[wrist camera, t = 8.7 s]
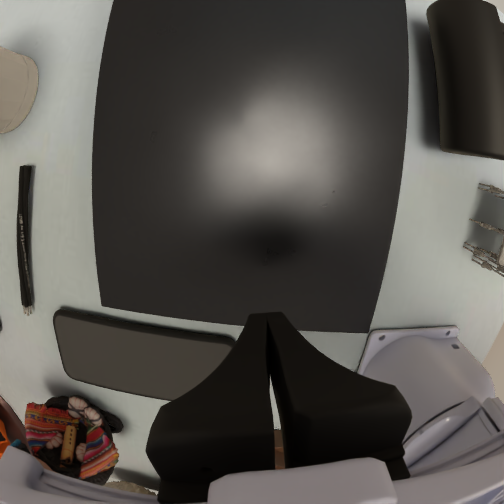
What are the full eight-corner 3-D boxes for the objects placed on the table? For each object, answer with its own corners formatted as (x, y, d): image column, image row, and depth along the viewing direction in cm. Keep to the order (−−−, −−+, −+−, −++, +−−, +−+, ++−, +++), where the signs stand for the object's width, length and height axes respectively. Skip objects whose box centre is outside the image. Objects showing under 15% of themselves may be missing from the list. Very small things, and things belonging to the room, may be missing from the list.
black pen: (35, 312, 21) (29, 317, 20) (26, 308, 21) (20, 314, 20) (34, 166, 17) (26, 167, 16) (25, 164, 17) (17, 166, 16)
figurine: (135, 406, 24) (92, 544, 10) (125, 441, 26) (92, 554, 12) (44, 362, 23) (-31, 474, 8) (46, 403, 25) (-8, 501, 10)
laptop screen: (398, -11, 11) (403, -16, 10) (364, 326, 18) (368, 333, 17) (127, -24, 12) (121, -29, 11) (107, 300, 19) (101, 306, 18)
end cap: (406, 18, 14) (458, -16, 8) (476, 42, 14) (531, 27, 8) (417, 149, 17) (483, 155, 11) (485, 159, 18) (547, 170, 11)
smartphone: (229, 409, 23) (65, 378, 22) (229, 402, 24) (69, 372, 23) (239, 341, 21) (49, 309, 19) (239, 334, 22) (54, 303, 20)
